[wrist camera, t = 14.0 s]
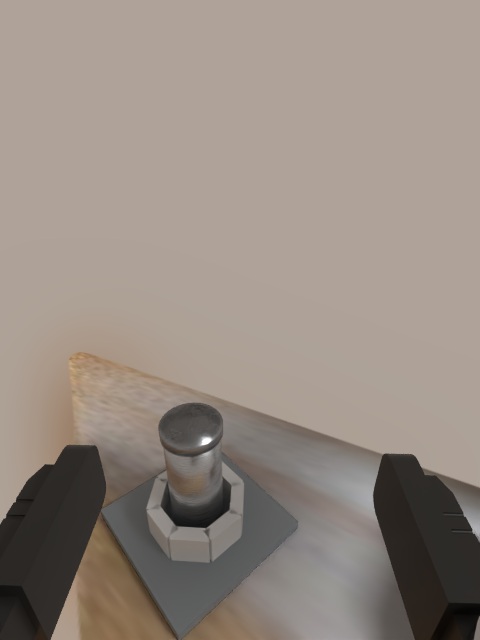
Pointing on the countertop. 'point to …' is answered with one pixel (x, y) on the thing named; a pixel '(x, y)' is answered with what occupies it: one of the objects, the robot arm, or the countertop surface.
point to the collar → (196, 544)
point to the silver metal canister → (193, 463)
